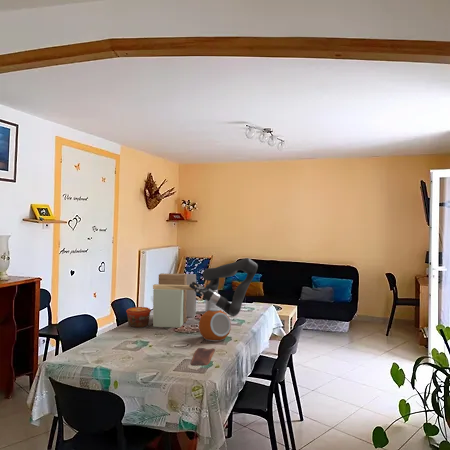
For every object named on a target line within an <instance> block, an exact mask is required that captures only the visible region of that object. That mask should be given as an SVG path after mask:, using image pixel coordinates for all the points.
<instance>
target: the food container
mask: <svg viewBox="0 0 450 450" xmlns="http://www.w3.org/2000/svg"><path fill="white" fill-rule="evenodd" d="M125 312H126V316H127V322H128V324H127V325H128V327H130V328H134V329H138V328H139V329H140V328H145V327H148V326H149V325H150V323H149V322H150V316H151V312H152V310H151V308H150V307H147V306H146V307H145V306H143V307H142V306H136V307H129V308H127V309H126V311H125Z"/></svg>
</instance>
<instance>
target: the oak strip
mask: <svg viewBox="0 0 450 450" xmlns="http://www.w3.org/2000/svg"><path fill="white" fill-rule="evenodd" d="M194 286H196V285H194ZM152 289H153V290H154V289H172V290H194V289H192V288H191V287H189V285H164V284H159V283H158V284H157V283H156V284H152Z"/></svg>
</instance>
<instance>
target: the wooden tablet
mask: <svg viewBox="0 0 450 450" xmlns="http://www.w3.org/2000/svg"><path fill="white" fill-rule="evenodd" d="M215 352H216V349H215V348H204V347H198V348H196V350H195V352H194V354H193V356H192V359H191V362H190V365H191V366H197V367H198V366H199V367H200V366H201V367H202V366H208V365H209V364H210V363H211V361H212V358H213V356H214V354H215Z"/></svg>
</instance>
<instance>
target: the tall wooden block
mask: <svg viewBox="0 0 450 450" xmlns="http://www.w3.org/2000/svg"><path fill="white" fill-rule="evenodd" d="M187 274H188V273H164V272H163V273H159V274H158V284H164V285H187ZM186 299H187V290H183V324H186V323H187V322H188V321H189V317H186Z"/></svg>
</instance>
